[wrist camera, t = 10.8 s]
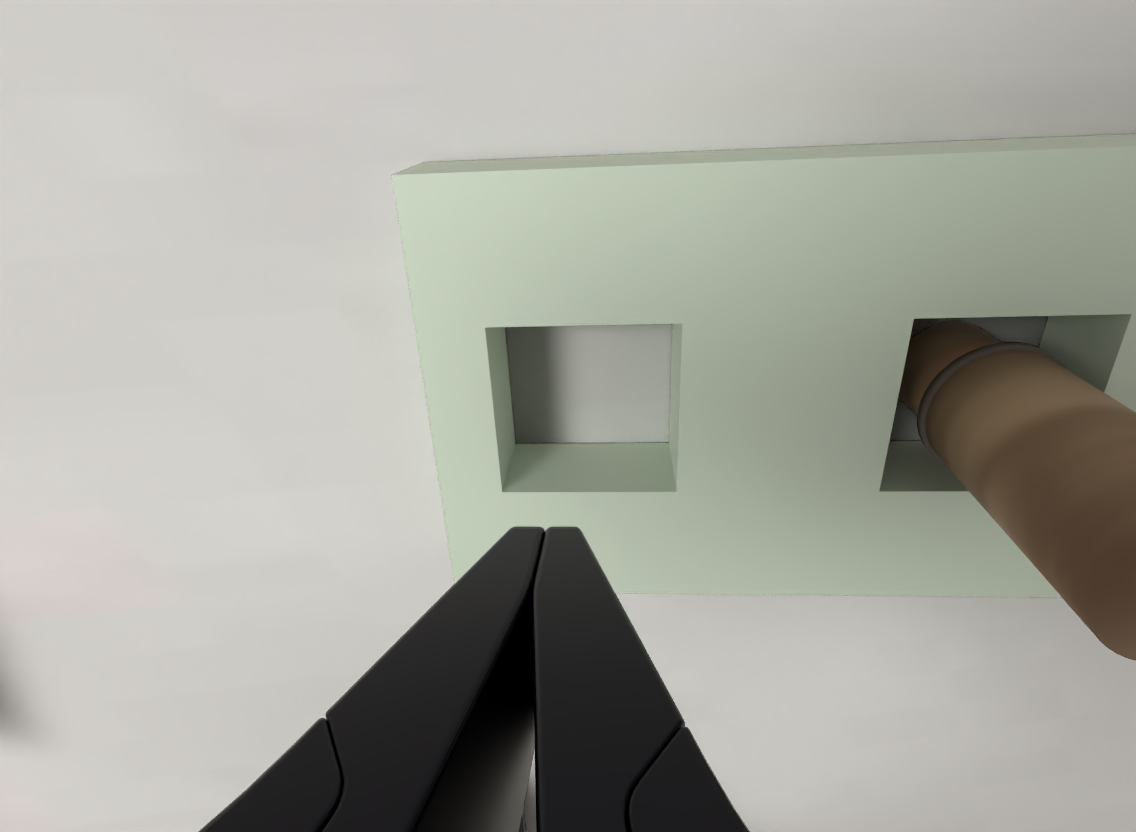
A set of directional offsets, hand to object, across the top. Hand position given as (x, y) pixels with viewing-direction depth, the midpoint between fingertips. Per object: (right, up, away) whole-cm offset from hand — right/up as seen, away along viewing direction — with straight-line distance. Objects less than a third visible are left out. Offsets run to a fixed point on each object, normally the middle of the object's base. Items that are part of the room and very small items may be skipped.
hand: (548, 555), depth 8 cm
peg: (+12, +3, +12) cm, 17 cm away
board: (+6, +3, +13) cm, 14 cm away
